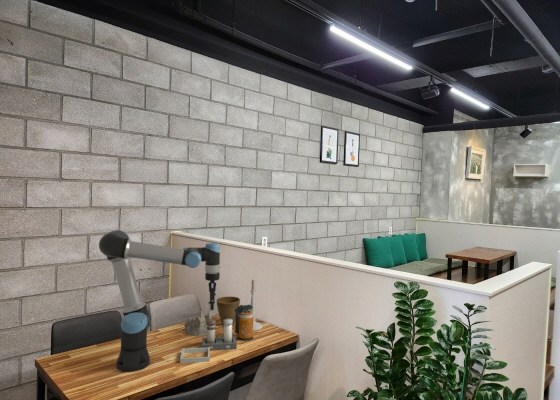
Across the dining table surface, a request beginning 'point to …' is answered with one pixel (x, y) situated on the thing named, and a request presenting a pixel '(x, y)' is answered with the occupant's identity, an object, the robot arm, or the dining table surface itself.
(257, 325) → the candlestick
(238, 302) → the plant pot
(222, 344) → the block
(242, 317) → the canister
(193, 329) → the grey jagged lump
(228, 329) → the cylinder
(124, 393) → the dining table surface
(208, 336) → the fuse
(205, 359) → the parts tray
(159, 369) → the dining table surface
